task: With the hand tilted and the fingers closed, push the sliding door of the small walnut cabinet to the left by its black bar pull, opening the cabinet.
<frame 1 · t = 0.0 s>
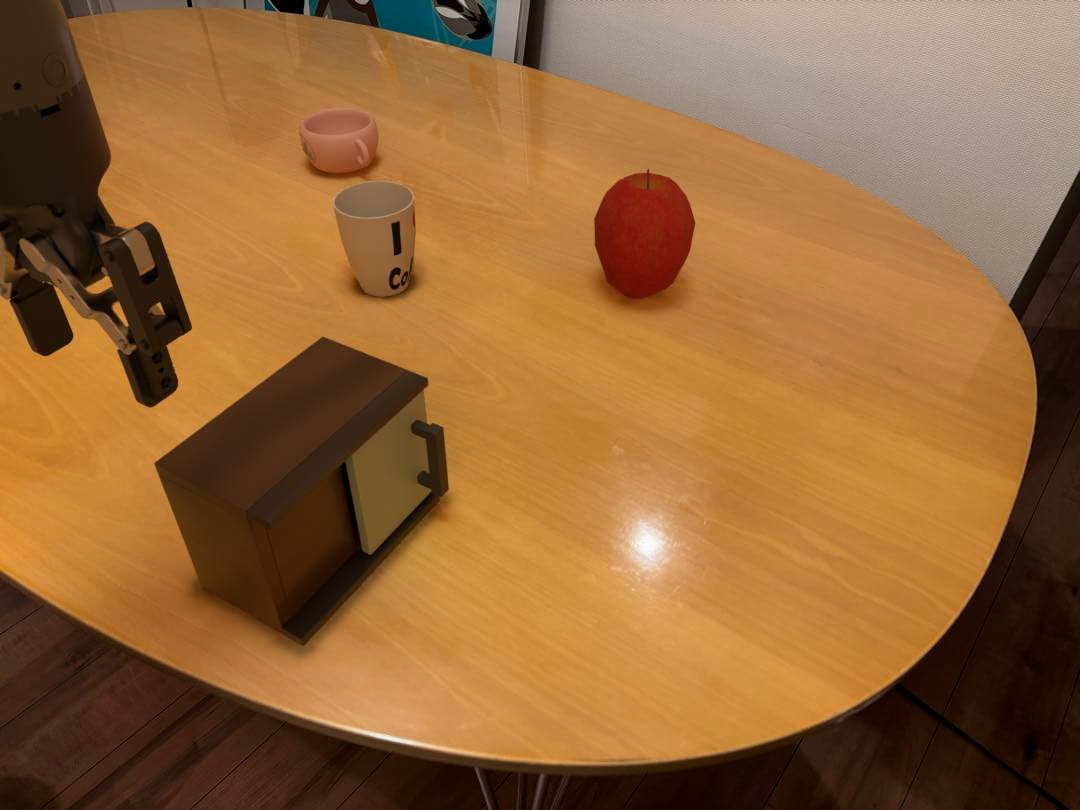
hand: (106, 371, 49), 22 cm above the table, tool pointing down, fingers open, 8 cm apart
cup: (384, 285, 95), on the table
cabinet: (317, 536, 68), on the table
door: (405, 476, 64), point 6 cm above the table, slide at 0.0 cm
apple: (638, 291, 95), on the table
mug: (347, 168, 117), on the table
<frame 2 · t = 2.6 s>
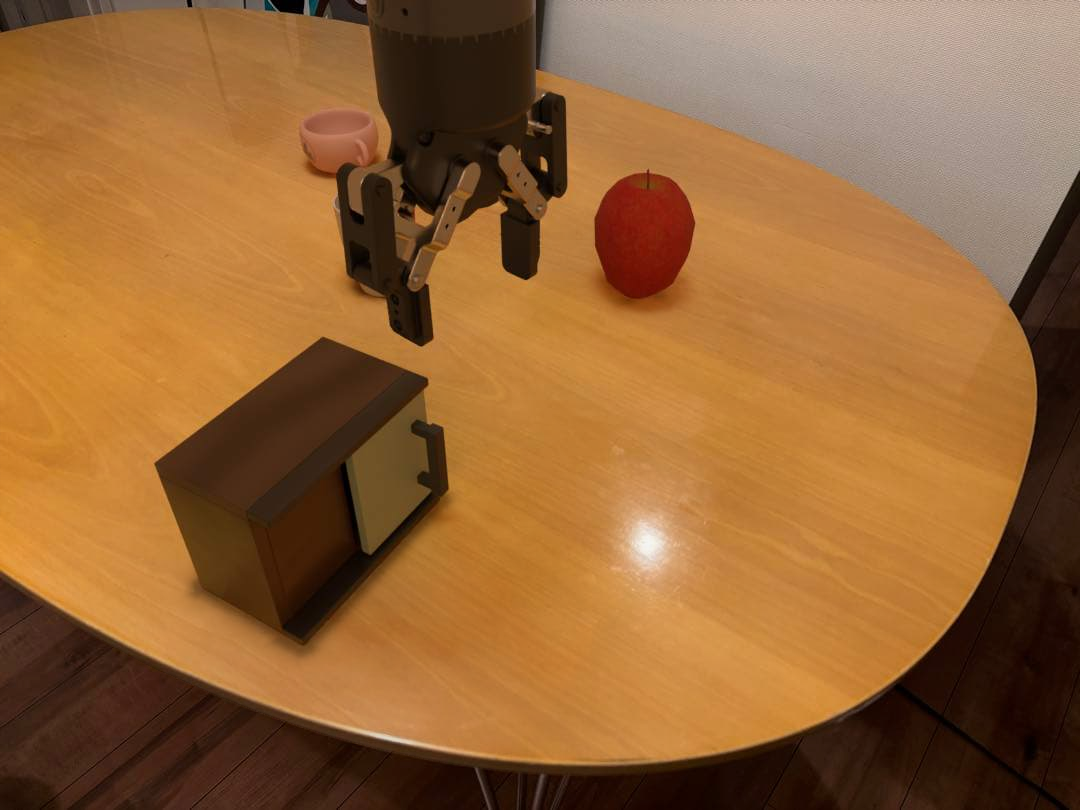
hand: (470, 304, 50), 24 cm above the table, tool pointing down, fingers open, 8 cm apart
nothing on the table moved.
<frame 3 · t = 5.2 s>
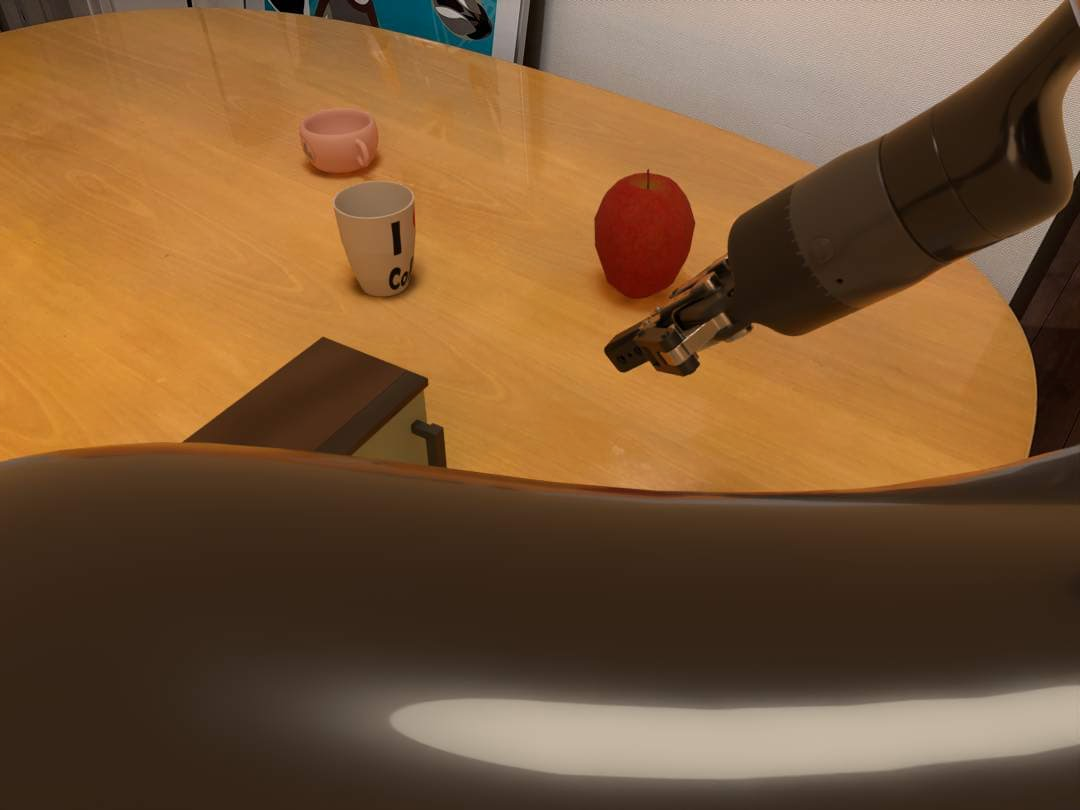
hand: (616, 355, 58), 16 cm above the table, tool tilted 45°, fingers closed
nothing on the table moved.
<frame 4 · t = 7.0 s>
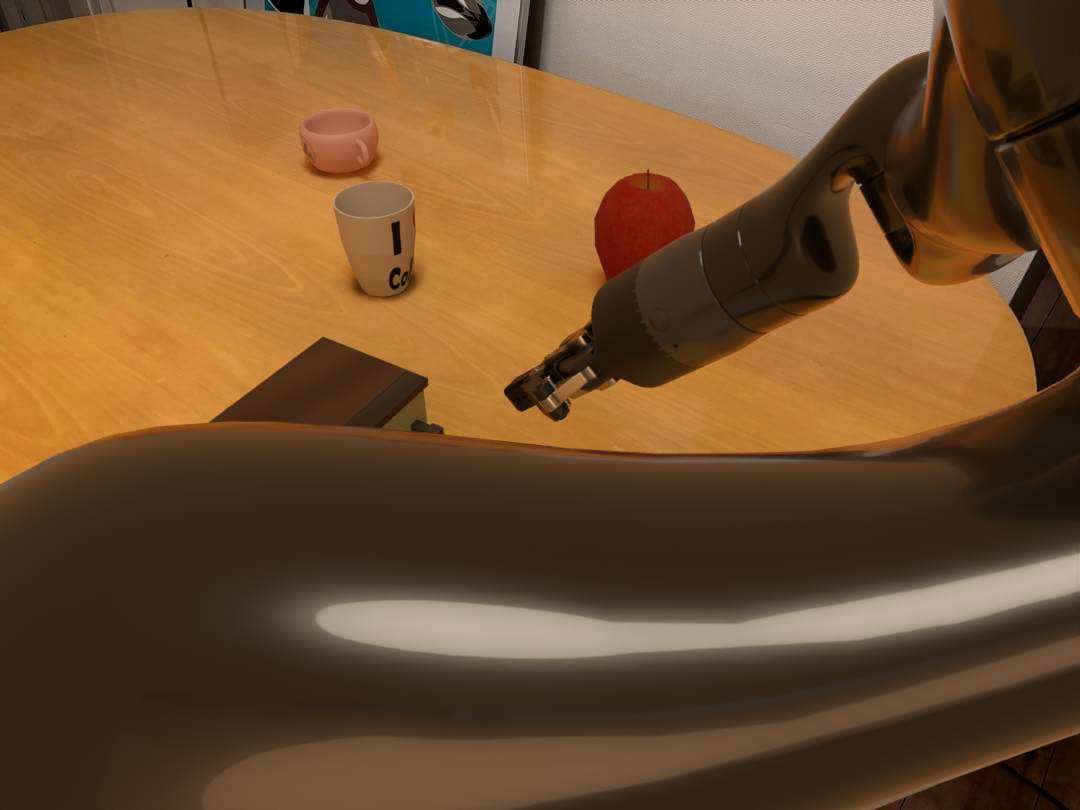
hand: (516, 396, 66), 9 cm above the table, tool tilted 45°, fingers closed
nothing on the table moved.
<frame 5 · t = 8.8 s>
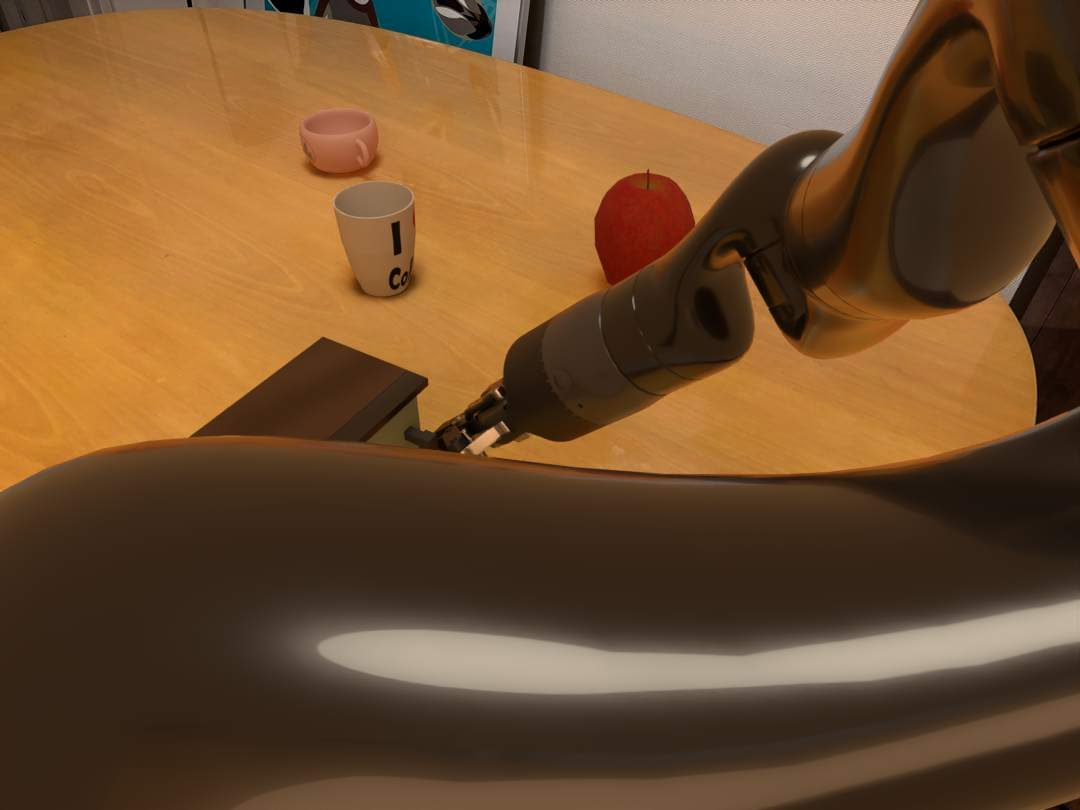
hand: (443, 441, 67), 6 cm above the table, tool tilted 45°, fingers closed
door: (398, 483, 64), point 6 cm above the table, slide at 0.8 cm, touching gripper
everything else where it was.
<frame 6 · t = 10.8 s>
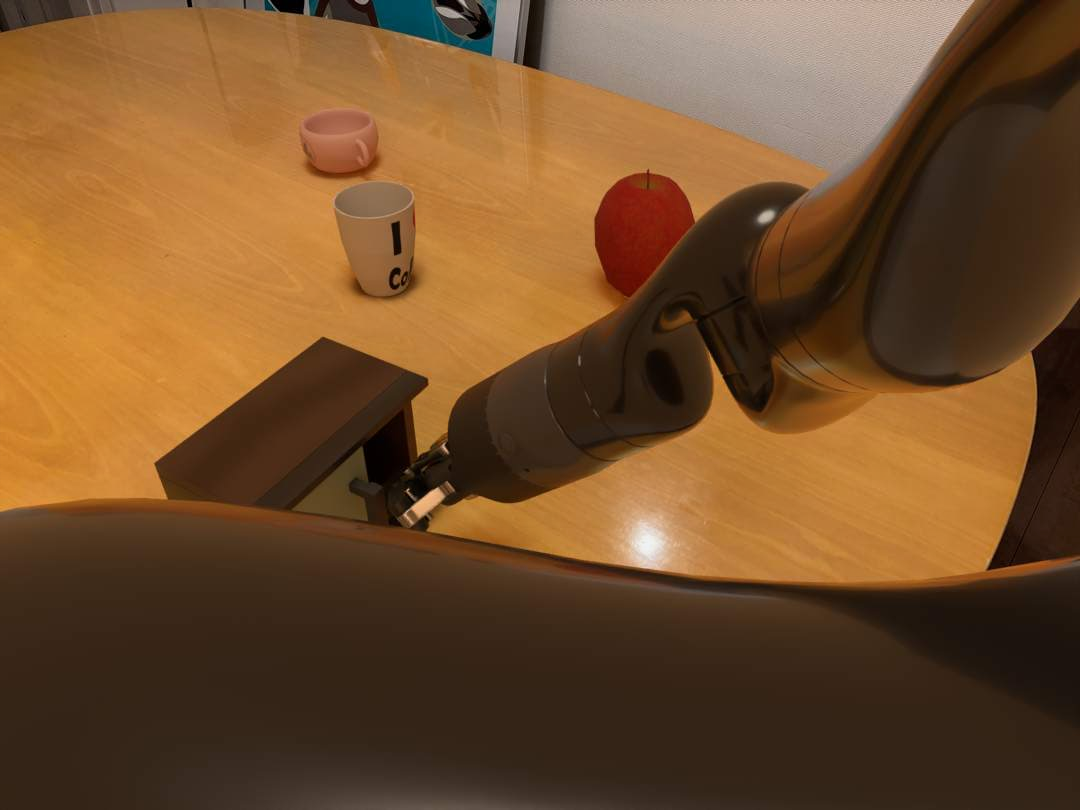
hand: (394, 492, 62), 7 cm above the table, tool tilted 45°, fingers closed
door: (342, 538, 60), point 6 cm above the table, slide at 6.9 cm
everything else where it was.
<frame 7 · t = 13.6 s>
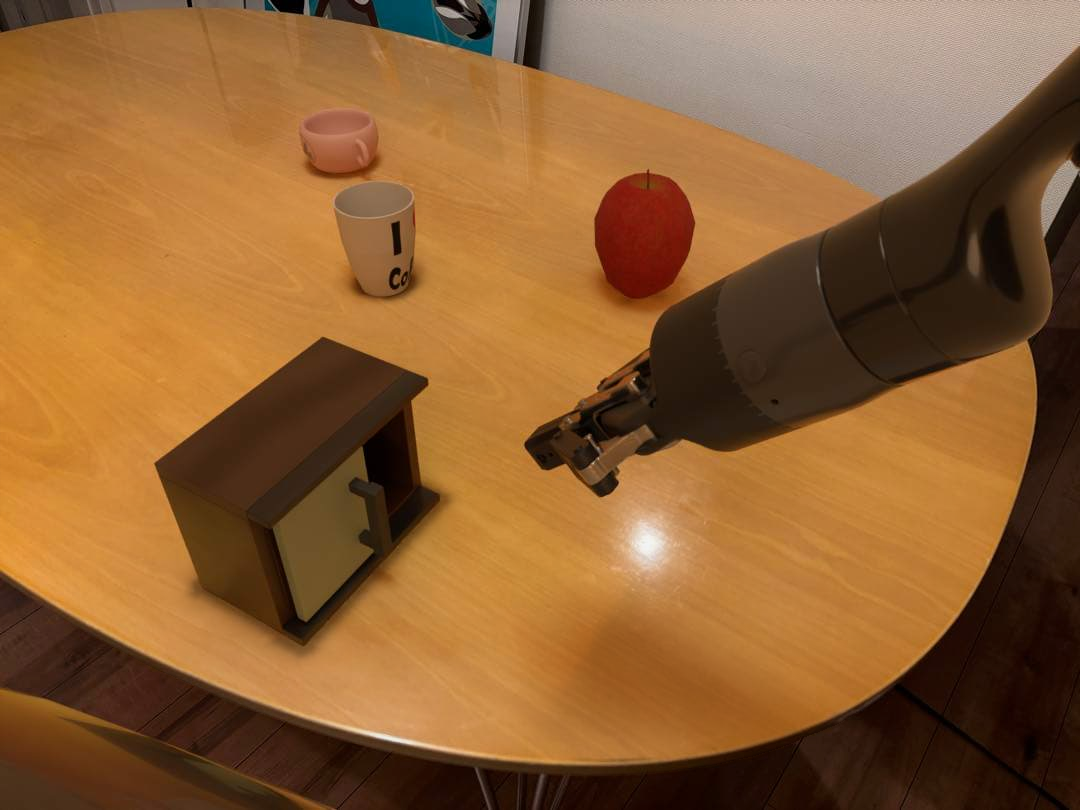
hand: (539, 450, 51), 16 cm above the table, tool tilted 45°, fingers closed
nothing on the table moved.
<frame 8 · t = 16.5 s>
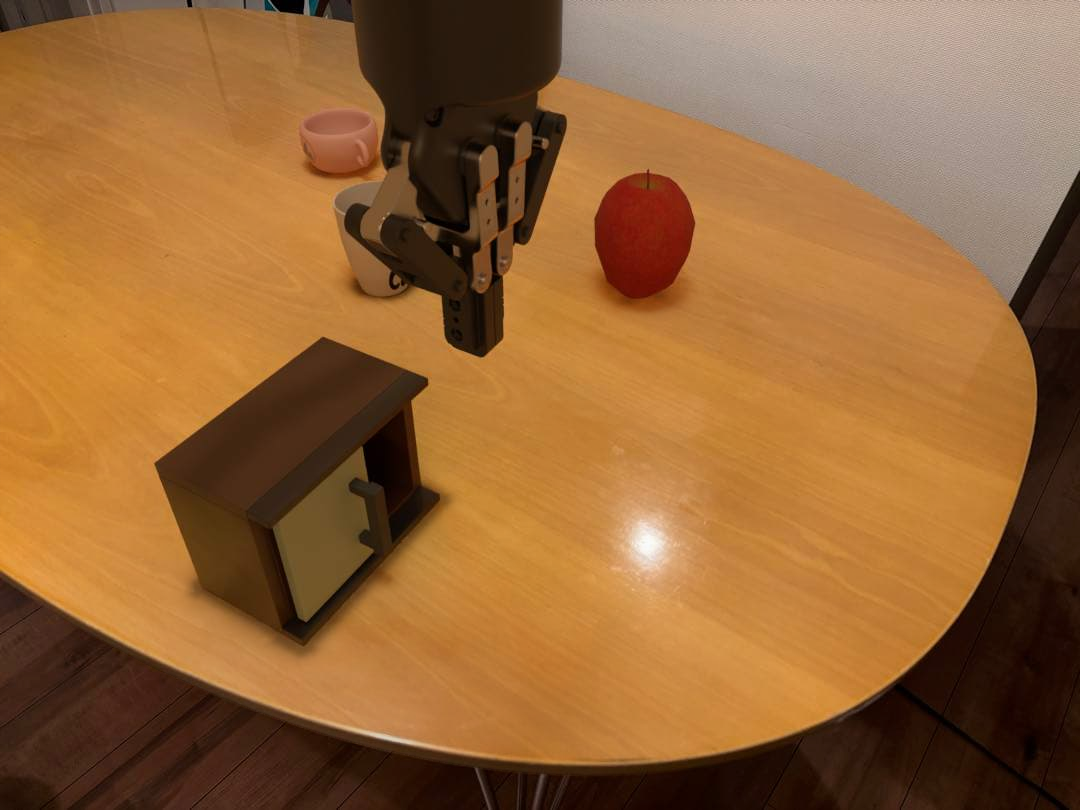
hand: (476, 344, 41), 27 cm above the table, tool pointing down, fingers closed
nothing on the table moved.
at the end: door slide at 6.9 cm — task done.
